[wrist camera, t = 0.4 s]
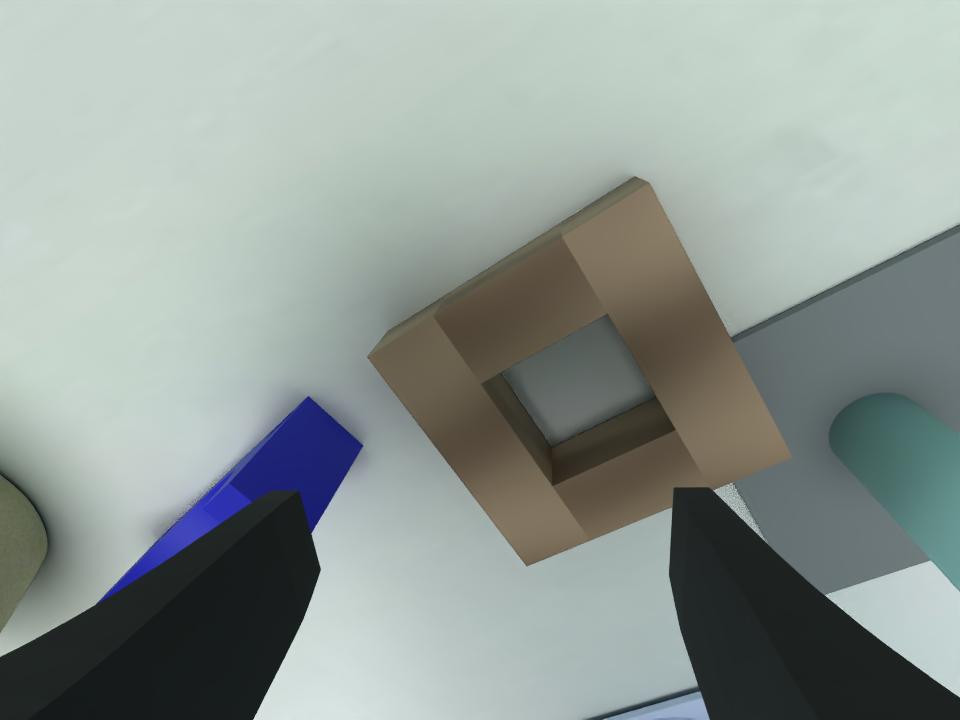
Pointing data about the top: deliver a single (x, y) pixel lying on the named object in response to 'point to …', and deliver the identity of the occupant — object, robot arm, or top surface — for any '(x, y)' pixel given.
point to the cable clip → (265, 481)
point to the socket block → (551, 317)
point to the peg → (906, 470)
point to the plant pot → (18, 547)
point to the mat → (834, 385)
